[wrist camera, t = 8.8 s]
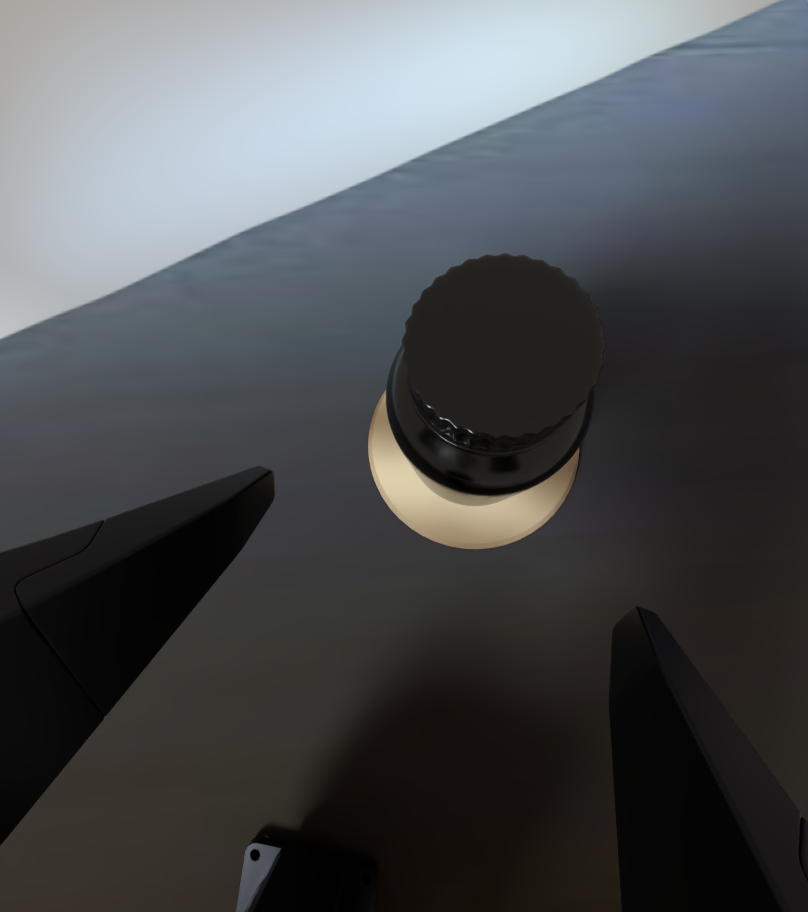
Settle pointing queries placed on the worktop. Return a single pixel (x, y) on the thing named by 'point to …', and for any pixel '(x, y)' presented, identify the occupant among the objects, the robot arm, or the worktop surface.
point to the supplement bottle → (495, 378)
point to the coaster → (455, 520)
